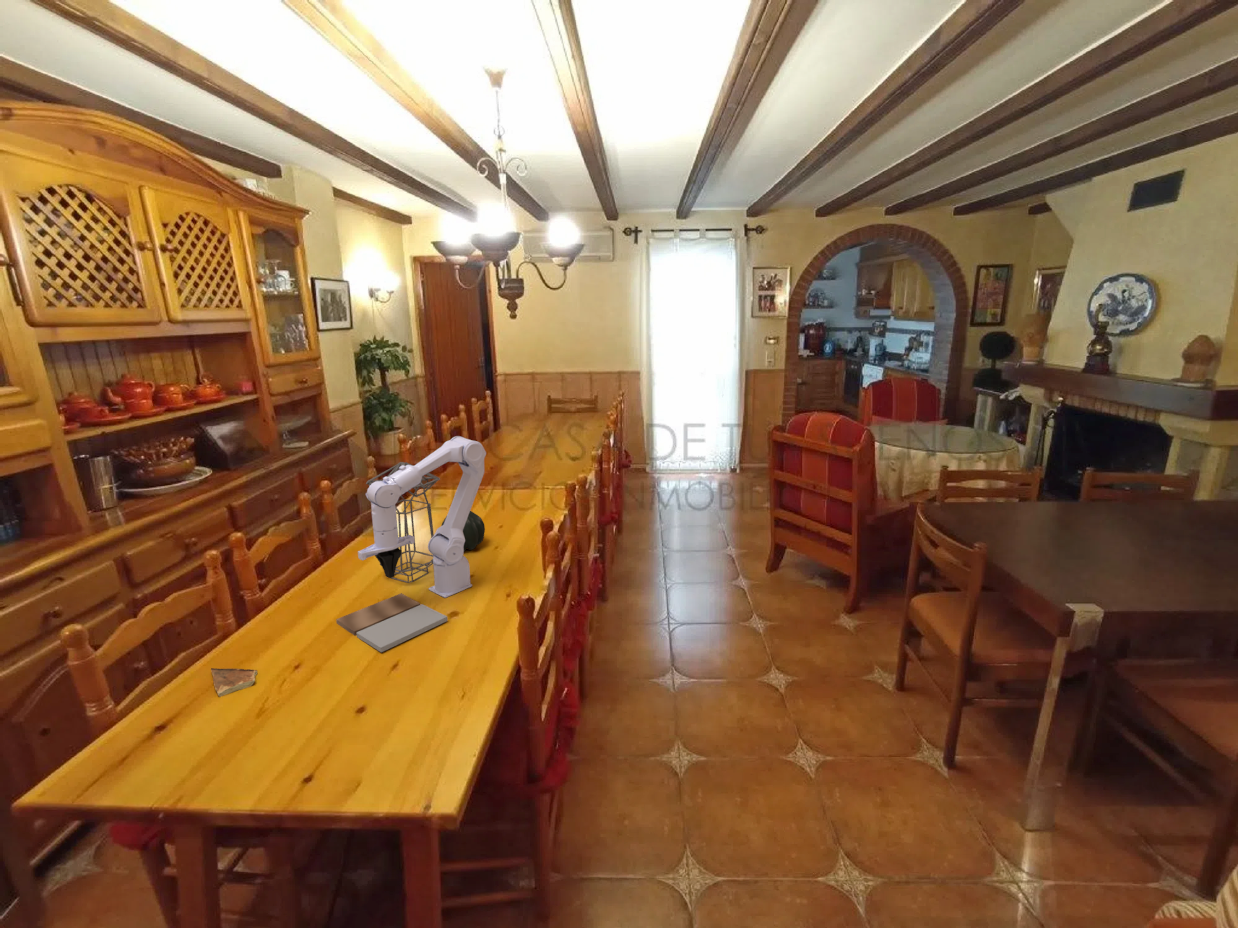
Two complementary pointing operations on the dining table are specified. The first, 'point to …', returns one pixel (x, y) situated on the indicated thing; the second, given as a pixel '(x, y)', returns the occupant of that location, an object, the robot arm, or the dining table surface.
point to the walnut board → (376, 613)
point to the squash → (472, 531)
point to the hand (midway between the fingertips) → (389, 576)
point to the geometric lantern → (396, 468)
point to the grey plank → (401, 627)
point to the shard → (232, 679)
